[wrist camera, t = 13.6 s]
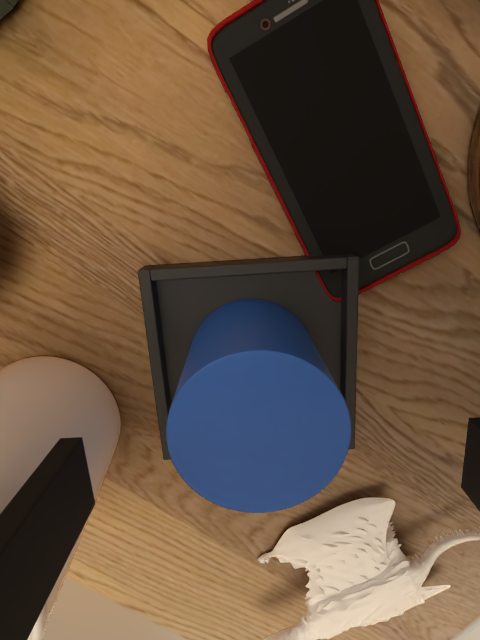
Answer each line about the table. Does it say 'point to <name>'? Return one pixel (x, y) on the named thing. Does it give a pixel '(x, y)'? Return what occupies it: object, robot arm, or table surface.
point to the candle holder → (53, 431)
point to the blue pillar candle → (256, 411)
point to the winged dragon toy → (356, 568)
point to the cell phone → (337, 133)
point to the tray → (248, 283)
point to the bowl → (6, 6)
